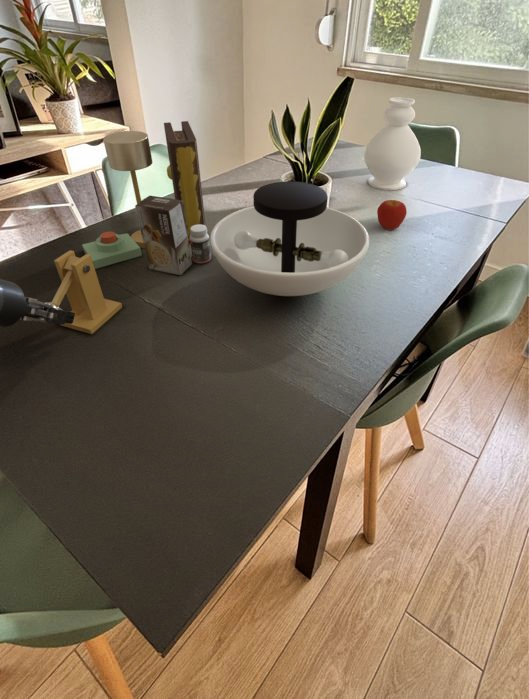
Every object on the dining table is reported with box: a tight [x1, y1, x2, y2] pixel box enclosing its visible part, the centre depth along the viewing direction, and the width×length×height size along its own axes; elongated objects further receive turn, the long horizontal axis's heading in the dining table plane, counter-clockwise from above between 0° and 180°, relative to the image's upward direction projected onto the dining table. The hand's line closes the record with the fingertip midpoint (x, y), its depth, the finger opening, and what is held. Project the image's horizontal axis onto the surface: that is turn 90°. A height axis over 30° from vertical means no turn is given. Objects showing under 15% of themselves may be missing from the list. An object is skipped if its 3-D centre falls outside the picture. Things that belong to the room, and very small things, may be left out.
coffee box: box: [134, 195, 193, 276], centre depth 99 cm, size 9×6×16 cm
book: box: [163, 120, 206, 245], centre depth 114 cm, size 22×8×25 cm, turn 14°
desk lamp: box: [102, 130, 153, 249], centre depth 106 cm, size 10×10×26 cm
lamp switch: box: [43, 256, 81, 309], centre depth 80 cm, size 13×4×4 cm, turn 158°
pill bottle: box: [189, 224, 212, 264], centre depth 105 cm, size 5×5×8 cm
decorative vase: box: [363, 96, 422, 191], centre depth 137 cm, size 18×18×25 cm
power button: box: [99, 231, 117, 244], centre depth 107 cm, size 4×4×2 cm
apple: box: [376, 199, 407, 231], centre depth 117 cm, size 8×8×8 cm
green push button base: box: [81, 232, 143, 270], centre depth 108 cm, size 12×10×4 cm
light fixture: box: [209, 181, 370, 297], centre depth 91 cm, size 33×33×21 cm
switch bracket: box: [53, 250, 123, 335], centre depth 85 cm, size 10×8×14 cm
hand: (63, 315), depth 82 cm, fingers closed on lamp switch, 3 cm apart
